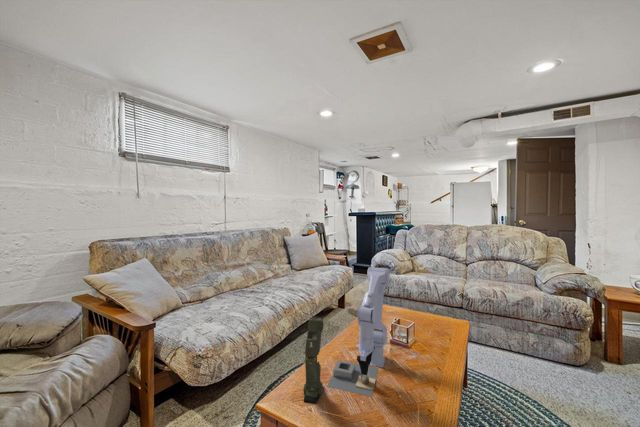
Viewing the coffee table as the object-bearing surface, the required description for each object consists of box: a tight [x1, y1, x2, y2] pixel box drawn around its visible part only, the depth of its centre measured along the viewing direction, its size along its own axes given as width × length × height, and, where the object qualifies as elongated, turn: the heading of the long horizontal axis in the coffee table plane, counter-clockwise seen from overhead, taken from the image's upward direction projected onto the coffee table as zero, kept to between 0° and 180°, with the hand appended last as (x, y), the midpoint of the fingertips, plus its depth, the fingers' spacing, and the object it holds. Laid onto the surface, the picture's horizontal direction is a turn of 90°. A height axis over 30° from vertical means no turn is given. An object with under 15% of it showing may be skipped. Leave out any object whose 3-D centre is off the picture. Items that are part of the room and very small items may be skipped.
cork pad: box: [356, 376, 377, 392], centre depth 112 cm, size 7×7×1 cm
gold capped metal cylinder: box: [361, 367, 369, 385], centre depth 112 cm, size 3×3×8 cm
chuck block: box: [332, 359, 356, 380], centre depth 119 cm, size 8×8×3 cm
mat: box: [326, 362, 379, 398], centre depth 117 cm, size 20×18×1 cm
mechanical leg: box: [303, 315, 324, 405], centre depth 107 cm, size 14×7×30 cm, turn 169°
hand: (365, 369), depth 112 cm, fingers open, 7 cm apart
